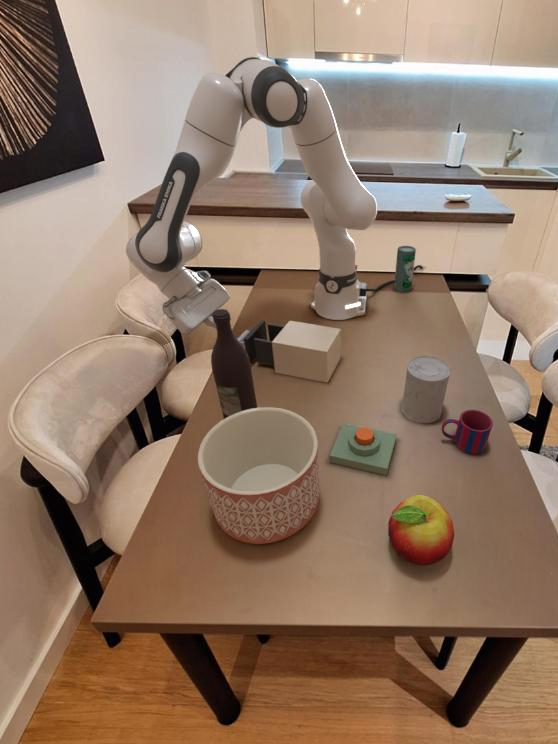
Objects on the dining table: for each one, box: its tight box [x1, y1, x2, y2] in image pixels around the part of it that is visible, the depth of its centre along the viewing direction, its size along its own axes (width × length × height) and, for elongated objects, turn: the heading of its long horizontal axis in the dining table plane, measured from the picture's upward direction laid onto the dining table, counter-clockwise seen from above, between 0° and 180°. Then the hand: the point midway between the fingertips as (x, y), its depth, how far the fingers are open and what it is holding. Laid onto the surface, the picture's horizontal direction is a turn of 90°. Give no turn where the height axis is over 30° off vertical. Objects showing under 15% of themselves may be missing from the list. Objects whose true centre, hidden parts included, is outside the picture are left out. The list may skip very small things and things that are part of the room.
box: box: [328, 422, 397, 476], centre depth 83 cm, size 10×12×4 cm
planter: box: [197, 406, 321, 545], centre depth 70 cm, size 19×19×15 cm
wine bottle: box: [210, 308, 258, 420], centre depth 78 cm, size 7×7×30 cm
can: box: [393, 245, 417, 293], centre depth 144 cm, size 6×6×15 cm
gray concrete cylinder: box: [401, 355, 452, 424], centre depth 92 cm, size 10×10×12 cm
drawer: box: [237, 319, 286, 367], centre depth 108 cm, size 18×10×8 cm, turn 74°
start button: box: [356, 426, 373, 446], centre depth 82 cm, size 4×4×2 cm
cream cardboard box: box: [272, 320, 342, 384], centre depth 106 cm, size 15×12×10 cm
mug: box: [441, 409, 494, 455], centre depth 85 cm, size 7×10×7 cm
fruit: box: [387, 494, 455, 567], centre depth 65 cm, size 11×11×10 cm
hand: (223, 328), depth 109 cm, fingers closed
